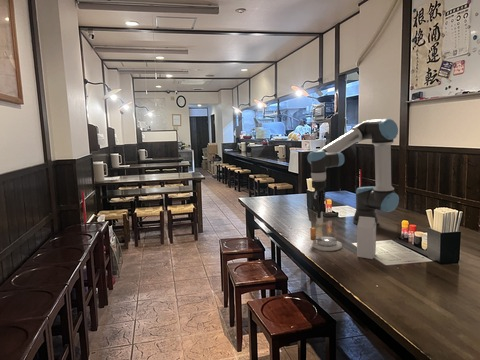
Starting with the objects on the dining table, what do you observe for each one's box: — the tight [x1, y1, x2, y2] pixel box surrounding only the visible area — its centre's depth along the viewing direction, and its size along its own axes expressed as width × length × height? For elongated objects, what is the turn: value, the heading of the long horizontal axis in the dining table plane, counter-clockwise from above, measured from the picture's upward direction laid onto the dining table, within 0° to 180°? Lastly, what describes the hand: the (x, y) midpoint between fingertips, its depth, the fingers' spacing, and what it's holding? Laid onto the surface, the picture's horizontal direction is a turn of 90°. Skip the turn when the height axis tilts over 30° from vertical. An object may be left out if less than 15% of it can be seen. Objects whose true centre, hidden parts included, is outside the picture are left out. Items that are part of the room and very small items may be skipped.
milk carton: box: [356, 216, 377, 260], centre depth 165 cm, size 7×7×19 cm
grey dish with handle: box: [309, 227, 338, 247], centre depth 181 cm, size 10×13×8 cm
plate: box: [311, 240, 343, 252], centre depth 181 cm, size 15×15×3 cm
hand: (320, 223), depth 187 cm, fingers closed
